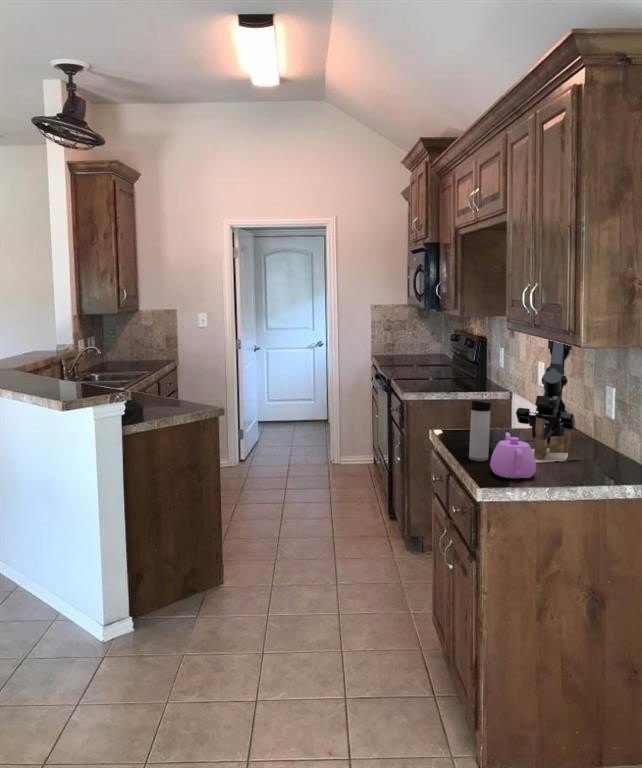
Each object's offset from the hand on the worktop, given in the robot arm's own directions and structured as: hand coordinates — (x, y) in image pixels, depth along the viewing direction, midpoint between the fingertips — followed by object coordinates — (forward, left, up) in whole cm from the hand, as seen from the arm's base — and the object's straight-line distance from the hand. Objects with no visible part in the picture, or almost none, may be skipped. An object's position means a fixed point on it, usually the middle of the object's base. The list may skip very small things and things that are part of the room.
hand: (538, 438), depth 238 cm
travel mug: (+19, -5, -8) cm, 21 cm away
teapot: (+18, +15, -8) cm, 24 cm away
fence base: (-13, -9, -8) cm, 18 cm away
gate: (-4, -5, -7) cm, 10 cm away
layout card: (-7, -7, -8) cm, 12 cm away
